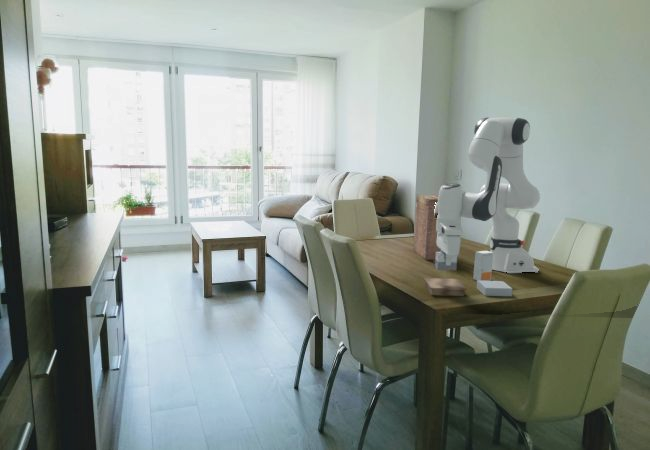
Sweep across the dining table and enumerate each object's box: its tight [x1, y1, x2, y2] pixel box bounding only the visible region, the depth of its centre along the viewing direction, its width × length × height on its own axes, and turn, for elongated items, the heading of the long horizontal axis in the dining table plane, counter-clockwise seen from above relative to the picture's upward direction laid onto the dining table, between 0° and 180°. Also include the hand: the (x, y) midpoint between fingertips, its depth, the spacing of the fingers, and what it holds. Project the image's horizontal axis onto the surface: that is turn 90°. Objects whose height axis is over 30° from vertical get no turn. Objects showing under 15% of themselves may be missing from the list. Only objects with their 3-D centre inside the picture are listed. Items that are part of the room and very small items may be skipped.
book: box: [413, 194, 441, 261], centre depth 241 cm, size 25×9×30 cm, turn 2°
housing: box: [434, 252, 458, 271], centre depth 178 cm, size 7×4×6 cm, turn 89°
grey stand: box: [476, 280, 513, 297], centre depth 180 cm, size 10×10×3 cm
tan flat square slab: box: [423, 277, 467, 297], centre depth 180 cm, size 13×13×3 cm
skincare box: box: [472, 250, 493, 281], centre depth 196 cm, size 6×4×12 cm
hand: (445, 263), depth 179 cm, fingers closed on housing, 4 cm apart
